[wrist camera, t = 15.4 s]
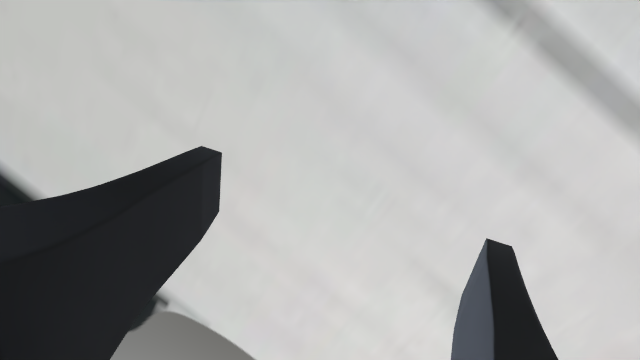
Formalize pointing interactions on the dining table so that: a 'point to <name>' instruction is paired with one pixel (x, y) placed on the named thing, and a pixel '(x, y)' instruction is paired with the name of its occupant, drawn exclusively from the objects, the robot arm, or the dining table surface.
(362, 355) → the dining table surface
